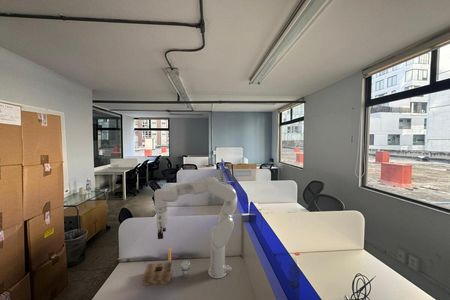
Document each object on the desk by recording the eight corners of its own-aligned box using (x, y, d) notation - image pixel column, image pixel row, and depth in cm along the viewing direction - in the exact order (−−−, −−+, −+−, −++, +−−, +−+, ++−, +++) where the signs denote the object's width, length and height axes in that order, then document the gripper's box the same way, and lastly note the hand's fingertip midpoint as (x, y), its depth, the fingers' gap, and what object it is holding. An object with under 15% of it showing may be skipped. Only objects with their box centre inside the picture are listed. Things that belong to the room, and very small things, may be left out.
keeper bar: (168, 261, 137) (171, 261, 137) (168, 264, 134) (170, 264, 134) (168, 247, 136) (171, 247, 136) (168, 250, 133) (170, 250, 133)
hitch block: (172, 271, 142) (172, 255, 141) (170, 283, 130) (170, 266, 129) (147, 272, 140) (147, 256, 139) (143, 285, 128) (142, 268, 127)
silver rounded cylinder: (190, 272, 140) (190, 259, 140) (190, 279, 134) (190, 265, 134) (181, 273, 140) (181, 260, 139) (180, 279, 134) (180, 266, 133)
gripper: (164, 213, 125) (165, 241, 126) (169, 204, 142) (169, 228, 143) (151, 214, 124) (152, 242, 125) (157, 204, 141) (158, 229, 143)
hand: (161, 235), depth 134 cm, fingers open, 9 cm apart
